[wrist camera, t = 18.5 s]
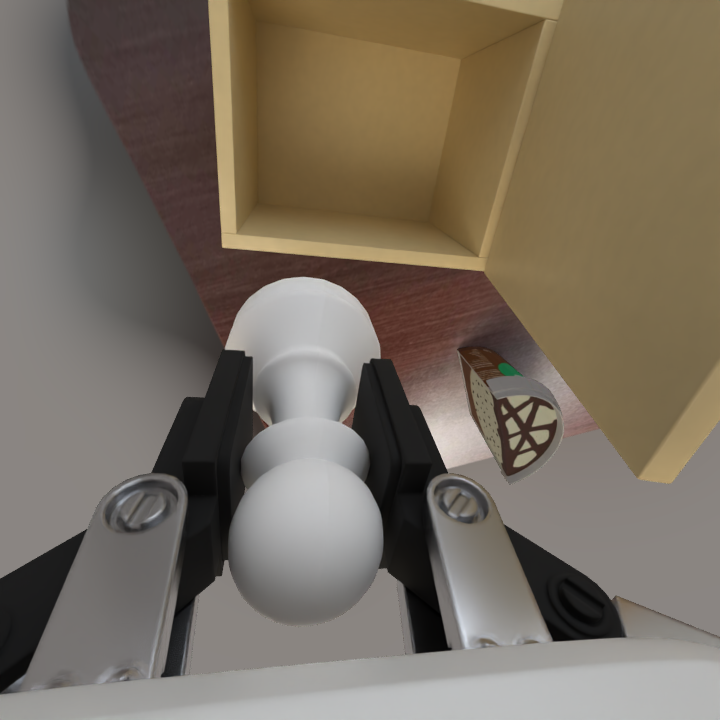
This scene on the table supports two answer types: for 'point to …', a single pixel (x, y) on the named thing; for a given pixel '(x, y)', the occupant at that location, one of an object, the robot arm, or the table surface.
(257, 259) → the table surface
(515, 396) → the food container
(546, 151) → the lid
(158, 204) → the table surface
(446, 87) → the light wooden open box
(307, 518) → the chess pawn
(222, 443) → the robot arm
